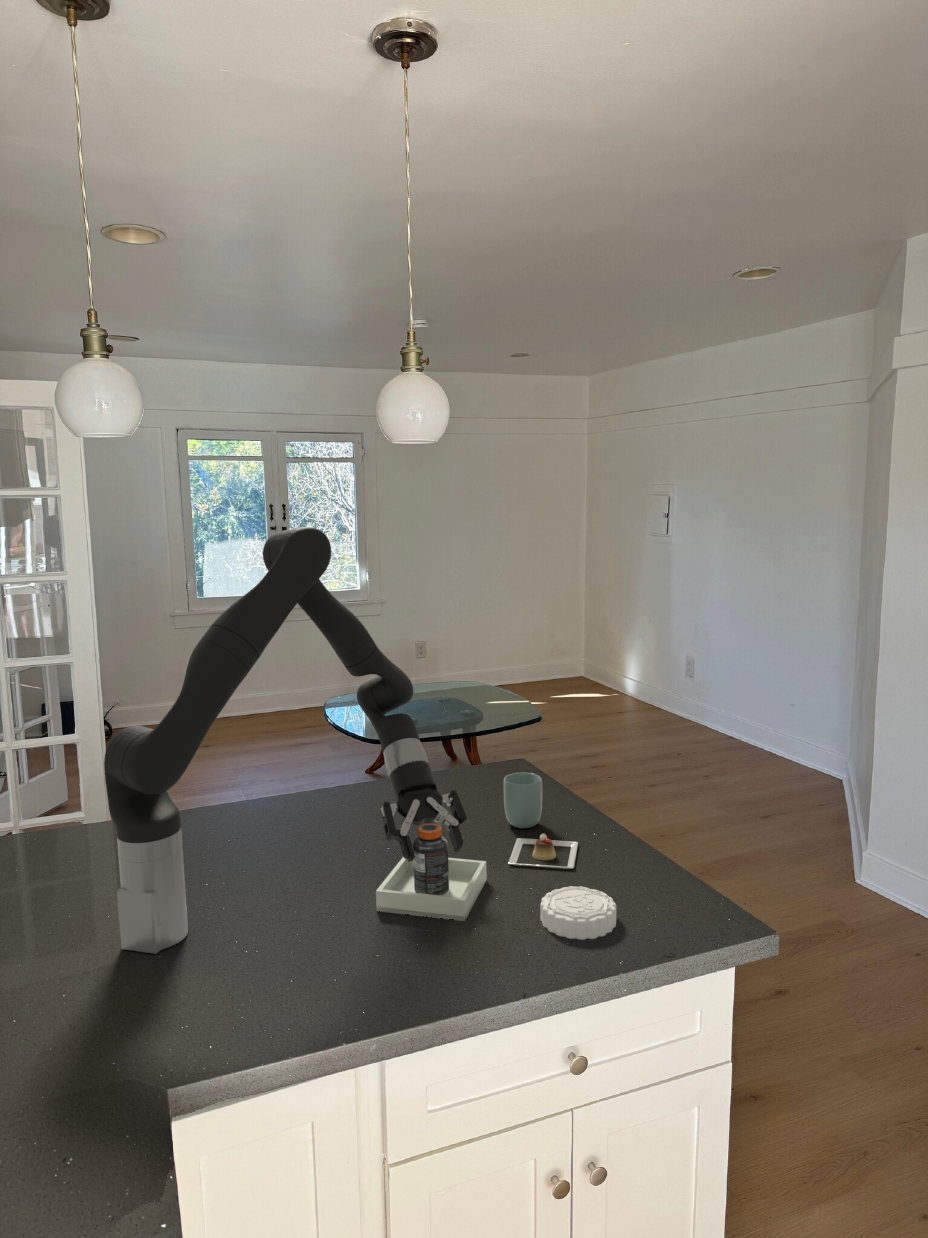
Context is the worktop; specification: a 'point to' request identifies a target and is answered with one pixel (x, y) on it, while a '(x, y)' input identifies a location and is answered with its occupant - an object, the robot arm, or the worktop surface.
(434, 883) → the pill bottle
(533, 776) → the cup
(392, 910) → the tray
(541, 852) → the dessert
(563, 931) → the mooncake
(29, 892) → the worktop surface
